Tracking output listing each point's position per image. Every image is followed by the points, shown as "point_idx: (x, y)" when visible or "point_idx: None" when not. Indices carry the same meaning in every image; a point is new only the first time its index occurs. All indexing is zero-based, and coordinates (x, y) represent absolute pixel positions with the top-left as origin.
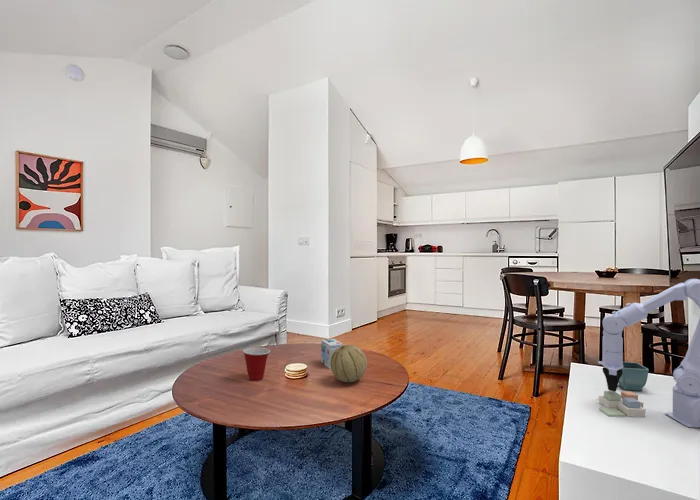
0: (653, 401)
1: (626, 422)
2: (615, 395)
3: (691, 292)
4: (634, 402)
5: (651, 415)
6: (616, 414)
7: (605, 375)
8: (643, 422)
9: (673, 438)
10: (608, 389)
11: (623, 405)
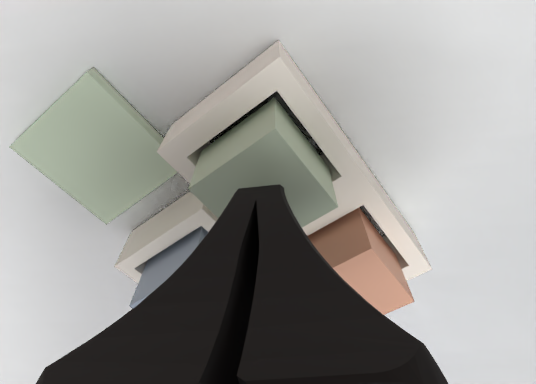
0: (511, 308)
1: (24, 229)
2: None
3: None
4: None
5: None
6: (61, 188)
7: (108, 333)
8: (112, 286)
9: (32, 362)
10: (237, 191)
11: (162, 241)
